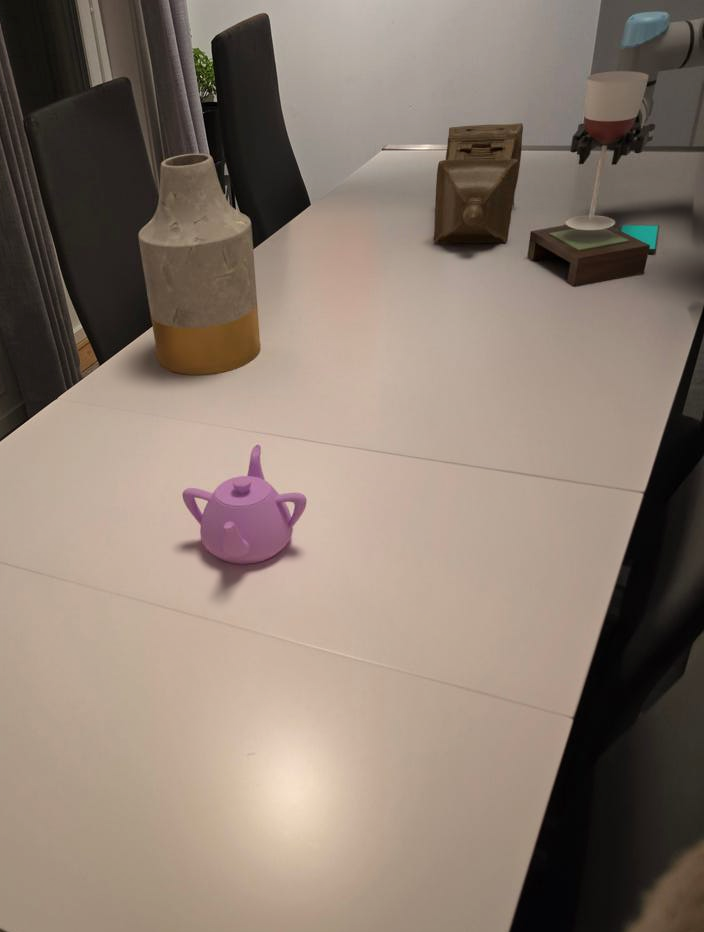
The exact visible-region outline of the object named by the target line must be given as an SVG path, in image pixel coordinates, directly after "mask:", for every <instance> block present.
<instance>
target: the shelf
mask: <svg viewBox="0 0 704 932" xmlns="http://www.w3.org/2000/svg"><path fill="white" fill-rule="evenodd" d="M649 248H650V245H649V244H647V243H645V242H642V241H640V240H638V239H636V238H634V237H632V236H630V235H628V234H626V233H624V232H622V231H620V229H618V228H616V227H613V226H611V227H609V228H605V229H600V230H581V229H575V228H571V227H569V226H567V224H563V225H558V226H551V227H546V228H542V229H536V230H531V231H530V233H529V241H528V249H527V256H526V258H527V259H529V260H530V261H532V262H535V261H540V260H546V259H551V258H557V257H559V258H561V259H563V260H565V261H567V262H568V263H570V264H569V269H568V275H567V281H566V282H567V284H569V285H571V286H573V287H577V286H583V285H588V284H594V283H598V282H599V283H600V282H605V281H610V280H615V279H621V278H626V277H631V276H636V275H637V276H638V275H642V274H644V273H645V270H646V265H647V261H648V258H649V257H648V256H649V253H648V252H649Z"/></svg>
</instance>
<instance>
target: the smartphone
mask: <svg viewBox="0 0 704 932" xmlns="http://www.w3.org/2000/svg"><path fill="white" fill-rule="evenodd" d="M619 230H620V231H622V232H624V233H626V234H628V235H630V236H632V237H634V238H636V239H638V240H640V241H642V242H645V243H647V244H649V245H650V248H649V252H648V254H656V252H657V246H658V241H659V239H658V238H659V231H660V224H621V225H620V228H619Z"/></svg>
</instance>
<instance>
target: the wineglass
mask: <svg viewBox="0 0 704 932" xmlns="http://www.w3.org/2000/svg"><path fill="white" fill-rule="evenodd" d="M648 77H649V76H648V75H647V74H645V73H640V72H631V71H617V70H616V71H603V72H598V73H593V74H590V75H589V76H587V77H586V84H585V94H584V103H583V120H584V121H583V124H585V128H586V130H587V132H588V133H589V134H590V135H591V136H592V137H593V138H594V139H595V140H597V141H598V142H600V143H601V144H602V147H601V150H600V155H599V161H598V166H597V171H596V177H595V181H594V187H593V192H592V197H591V203H590V209H589V214H588V215H579V216H573V217H571V218H568V219H567V220H566V221H565V225H567V226H569V227H571V228H575V229H581V230H600V229H605V228H609V227H613V226H614V225H616V220H615V219H613V218H610V217H608V216H604V215H597V214H596V215H595V213H596V207H597V202H598V197H599V192H600V188H601V187H600V185H601V181H602V176H603V170H604V166H605V165H604V164H605V160H606V154H607V150H608V149H607V145H608V144H609V143H611V142H613V141H615V140H617V139H619V138H621V137H622V136H624V135H625V134H626V133H627V132H628V131H629V130H630V129H631V127H632V126H633V124H634V122H635V120H636V117H637V115H638V112H639V109H640V106H641V103H642V100H643V96H644V93H645V89H646V85H647V81H648Z"/></svg>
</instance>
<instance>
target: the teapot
mask: <svg viewBox="0 0 704 932" xmlns="http://www.w3.org/2000/svg"><path fill="white" fill-rule="evenodd" d="M261 453H262V447H261V445H260V444H256V445H254V447H253V448H252V450H251V453H250V458H249V465H248V470H247V475H240V476H239V475H238V476H235V477H231V478H229V479H227V480H226V479H225V480H224V481H223V482H221V483H220V484H219V485H218V486H216V488H215V490H214V491H213V492H210V491H207V490H204V489H200V488H196V487H187V488H185V489H184V490H183V491H182V494H181V495H182V500H183V503H184V505H185V507H186V508H187V510H188V512H190V514H191V515H192V516H193V518H194V519H195V520H196V521H197V523H198V524H199V525H200V527H199V532H200V540H201V543H202V544H203V546H204V547H205V549H206V550H207V551H208V552H209V553H210V554H212V555H213V556H215V557H217V558H218V559H220V560H222V561H224V562H227V563H231V564H239V565H249V564H256V563H261V562H264V561H267V560H269V559H271V558H273V557H274V556H276V555H278V553H279V552H281V551H282V550H283V549H284V548H285V547H286V546H287V545H288V543H289V542H290V540H291V537H292V535H293V532H294V526H295V525H296V523H297V522H298V521H299V520H300V518H301V516H302V515H303V514H304V511H305V510H306V508H307V497H306V495H305V494H303V493H301V492H287V493H281V494H280V493H279V492H278V491H277V490H276V489H275V488H274V487H273V485H272V484H270V482H268V481H266V479H265V476H264V472H263V469H262V464H261V463H262V462H261ZM196 499H201V500H204V501H207V502H206V505H205V507H204V509H203V512H202V511H201V510H200V508H199V506H198V504H197V501H196ZM286 503H293V506H294V508H293V512H292V514H291V512H290V510H289V507H288V505H287V504H286Z"/></svg>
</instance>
